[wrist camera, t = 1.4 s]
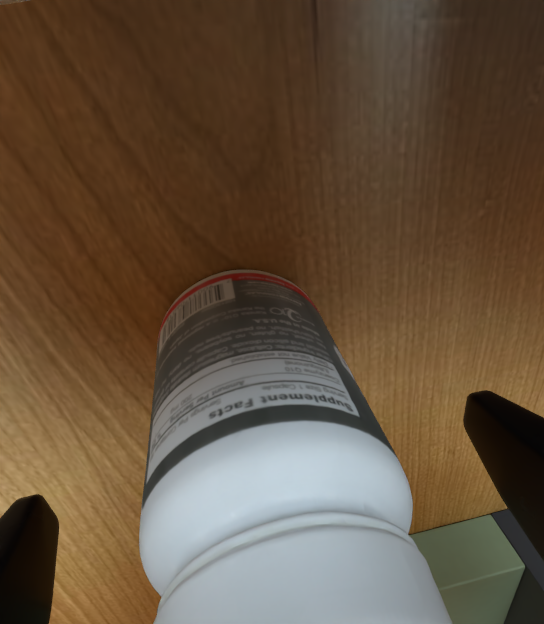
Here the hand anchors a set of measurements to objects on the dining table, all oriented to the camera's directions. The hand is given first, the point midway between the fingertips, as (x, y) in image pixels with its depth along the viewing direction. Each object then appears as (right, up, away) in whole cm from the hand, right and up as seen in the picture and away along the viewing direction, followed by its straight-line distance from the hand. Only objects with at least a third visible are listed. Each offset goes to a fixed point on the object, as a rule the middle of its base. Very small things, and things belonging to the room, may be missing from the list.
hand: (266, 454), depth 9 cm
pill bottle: (-1, +2, +4) cm, 4 cm away
